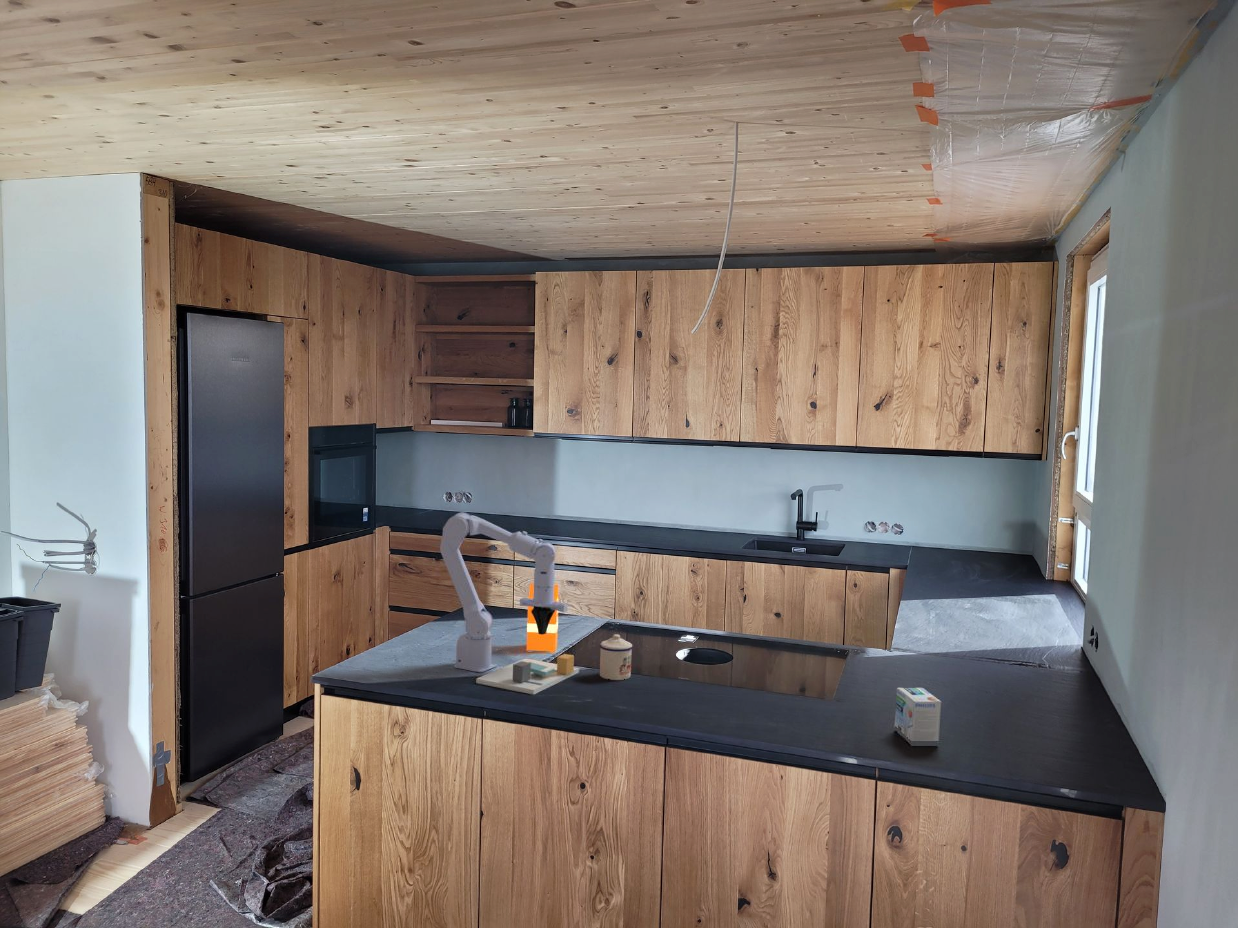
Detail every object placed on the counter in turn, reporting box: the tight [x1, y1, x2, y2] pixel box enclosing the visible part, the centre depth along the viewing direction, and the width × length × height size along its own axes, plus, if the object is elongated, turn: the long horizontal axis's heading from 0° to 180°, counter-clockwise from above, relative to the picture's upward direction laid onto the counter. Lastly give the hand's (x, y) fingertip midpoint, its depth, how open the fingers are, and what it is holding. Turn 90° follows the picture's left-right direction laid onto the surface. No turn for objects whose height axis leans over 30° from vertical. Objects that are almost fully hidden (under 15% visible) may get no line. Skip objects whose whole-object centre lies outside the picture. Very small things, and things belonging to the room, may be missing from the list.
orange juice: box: [526, 583, 560, 653], centre depth 282 cm, size 8×9×20 cm
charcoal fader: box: [512, 661, 531, 683], centre depth 244 cm, size 3×4×4 cm
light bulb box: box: [894, 687, 942, 741], centre depth 214 cm, size 11×7×11 cm, turn 5°
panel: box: [475, 658, 580, 696], centre depth 252 cm, size 18×24×2 cm
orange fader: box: [556, 653, 575, 675], centre depth 253 cm, size 3×4×4 cm
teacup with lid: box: [599, 633, 633, 681], centre depth 257 cm, size 12×9×12 cm
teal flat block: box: [528, 662, 555, 676], centre depth 250 cm, size 8×4×1 cm, turn 63°
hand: (542, 633), depth 259 cm, fingers closed
